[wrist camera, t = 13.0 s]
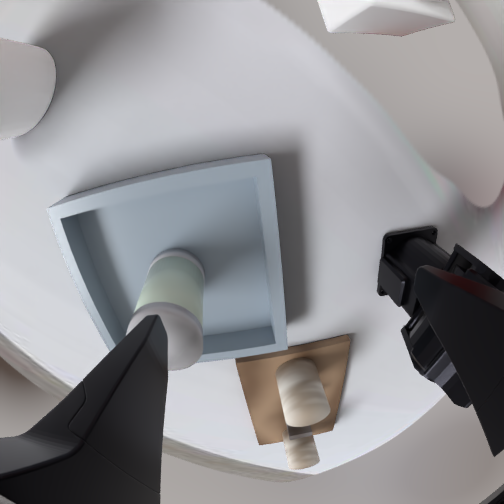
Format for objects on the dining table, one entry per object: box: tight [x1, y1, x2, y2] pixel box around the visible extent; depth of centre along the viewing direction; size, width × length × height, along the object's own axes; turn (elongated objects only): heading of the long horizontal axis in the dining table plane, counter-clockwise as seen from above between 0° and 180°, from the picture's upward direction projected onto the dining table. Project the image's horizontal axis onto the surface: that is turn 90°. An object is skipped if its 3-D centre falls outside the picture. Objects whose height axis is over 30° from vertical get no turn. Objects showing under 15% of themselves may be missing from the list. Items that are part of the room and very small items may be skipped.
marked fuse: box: [126, 248, 205, 371], centre depth 18 cm, size 4×4×8 cm
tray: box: [47, 154, 288, 363], centre depth 21 cm, size 16×16×3 cm
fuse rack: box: [235, 335, 350, 470], centre depth 29 cm, size 12×22×7 cm, turn 7°
